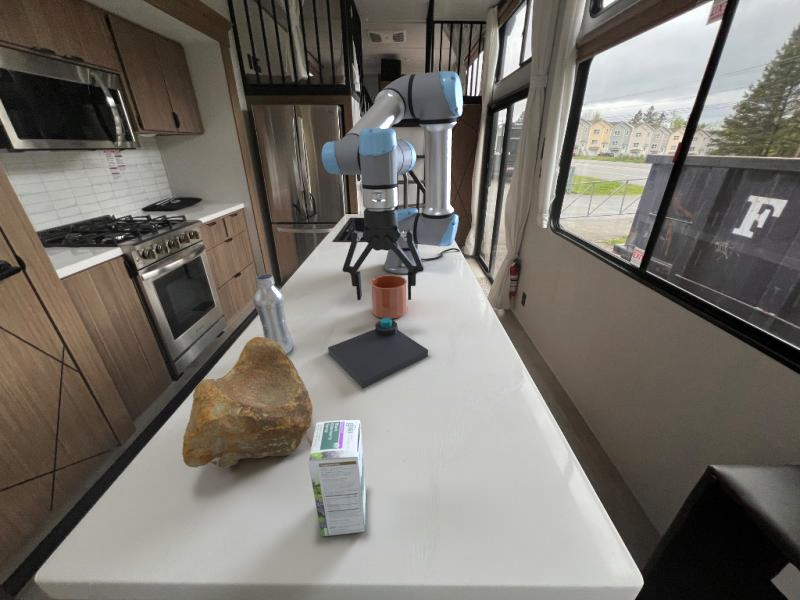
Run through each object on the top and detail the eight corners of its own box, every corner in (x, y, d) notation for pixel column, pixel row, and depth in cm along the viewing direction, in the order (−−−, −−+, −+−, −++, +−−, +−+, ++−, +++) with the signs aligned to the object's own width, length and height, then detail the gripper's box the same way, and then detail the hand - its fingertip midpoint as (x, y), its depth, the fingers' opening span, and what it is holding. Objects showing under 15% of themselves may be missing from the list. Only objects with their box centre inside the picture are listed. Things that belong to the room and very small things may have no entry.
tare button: (387, 322, 85) (387, 316, 85) (393, 326, 83) (393, 320, 83) (378, 325, 84) (378, 319, 83) (384, 330, 82) (384, 324, 81)
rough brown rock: (287, 510, 46) (278, 432, 40) (175, 494, 47) (149, 415, 41) (333, 398, 67) (332, 336, 61) (255, 388, 68) (247, 326, 62)
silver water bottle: (300, 347, 81) (286, 272, 73) (283, 362, 76) (265, 284, 67) (278, 342, 83) (262, 270, 75) (260, 357, 78) (241, 280, 69)
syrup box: (326, 494, 47) (313, 421, 41) (367, 490, 47) (360, 417, 41) (321, 537, 42) (304, 461, 35) (367, 533, 42) (358, 456, 36)
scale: (389, 328, 89) (388, 317, 87) (429, 356, 77) (429, 343, 75) (328, 353, 79) (326, 341, 77) (363, 388, 67) (362, 375, 65)
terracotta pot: (393, 301, 104) (392, 272, 99) (414, 313, 96) (414, 282, 92) (365, 311, 98) (363, 280, 94) (385, 324, 91) (384, 292, 86)
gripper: (322, 212, 68) (333, 304, 77) (436, 210, 67) (434, 304, 76) (330, 206, 75) (339, 291, 84) (434, 204, 74) (432, 291, 83)
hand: (384, 297), depth 80 cm, fingers open, 12 cm apart
